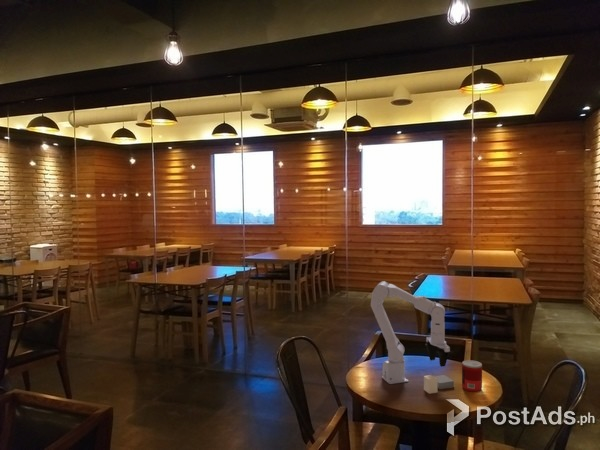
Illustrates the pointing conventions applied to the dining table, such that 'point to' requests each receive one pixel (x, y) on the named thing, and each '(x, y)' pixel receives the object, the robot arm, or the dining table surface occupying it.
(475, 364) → the canned food
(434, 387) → the cream block
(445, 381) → the grey square block
